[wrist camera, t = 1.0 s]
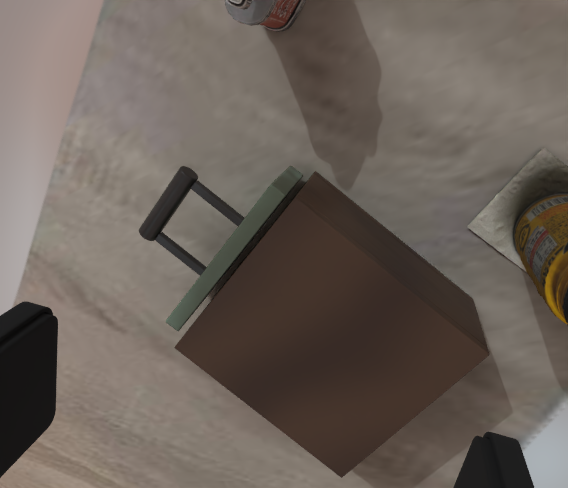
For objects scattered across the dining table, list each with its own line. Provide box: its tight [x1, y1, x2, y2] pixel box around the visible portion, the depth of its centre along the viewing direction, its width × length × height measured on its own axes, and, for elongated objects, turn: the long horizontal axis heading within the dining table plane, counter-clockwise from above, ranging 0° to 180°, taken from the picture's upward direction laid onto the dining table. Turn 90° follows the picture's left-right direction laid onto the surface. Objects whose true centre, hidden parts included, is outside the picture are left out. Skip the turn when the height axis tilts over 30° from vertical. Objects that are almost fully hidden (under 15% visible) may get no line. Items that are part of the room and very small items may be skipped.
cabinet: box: [175, 171, 489, 478], centre depth 38 cm, size 16×15×8 cm
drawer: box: [139, 166, 303, 331], centre depth 38 cm, size 20×13×6 cm, turn 53°
